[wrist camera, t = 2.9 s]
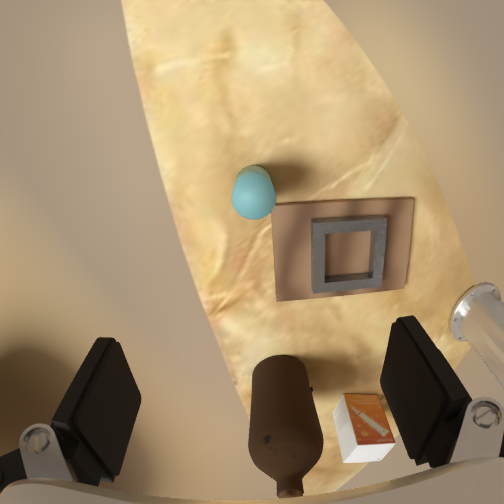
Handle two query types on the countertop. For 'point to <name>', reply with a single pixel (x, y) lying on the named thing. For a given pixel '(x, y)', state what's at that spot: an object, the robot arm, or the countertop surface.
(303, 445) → the olive oil
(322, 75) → the countertop surface
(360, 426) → the small box
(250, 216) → the teal peg
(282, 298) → the collar board
